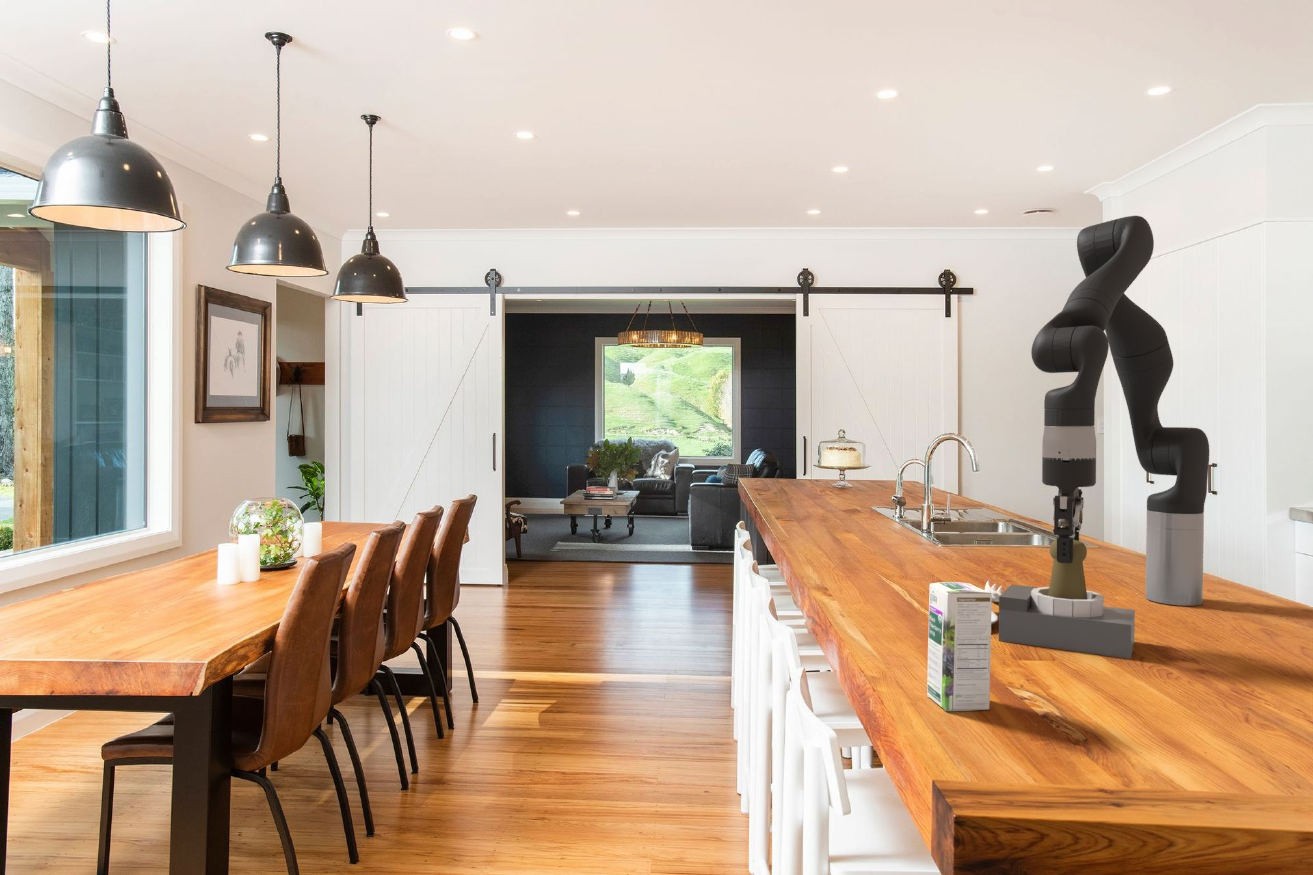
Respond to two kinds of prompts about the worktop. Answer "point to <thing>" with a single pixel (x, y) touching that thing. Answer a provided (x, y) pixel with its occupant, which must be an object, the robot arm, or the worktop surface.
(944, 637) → the syrup box
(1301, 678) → the worktop surface
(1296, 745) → the worktop surface
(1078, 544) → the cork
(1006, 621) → the camera body
